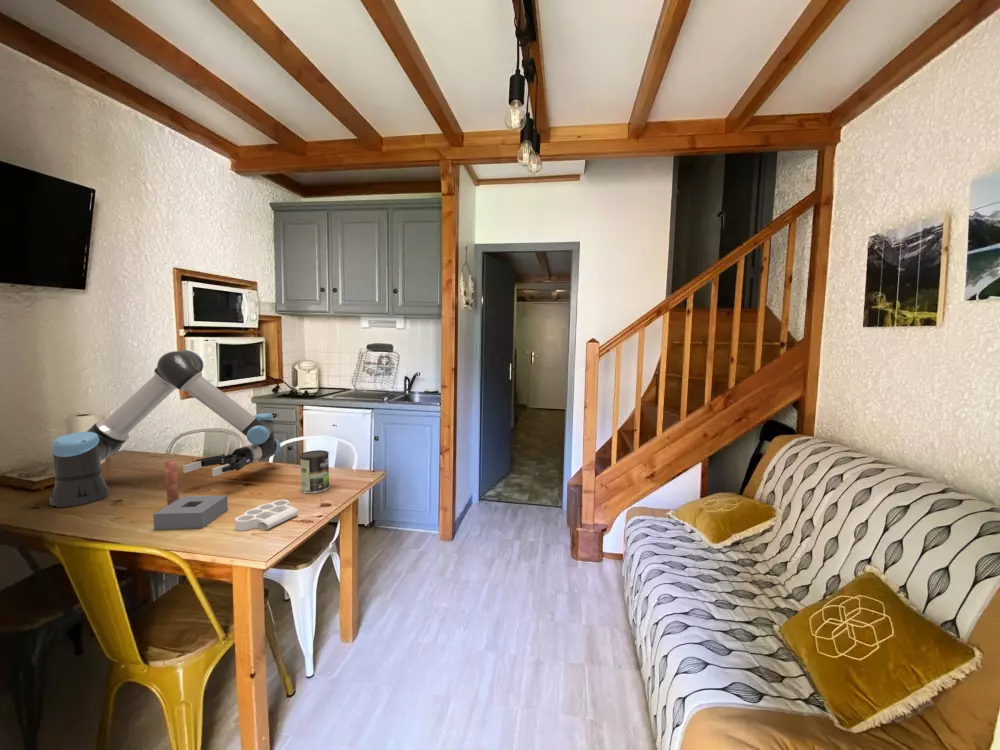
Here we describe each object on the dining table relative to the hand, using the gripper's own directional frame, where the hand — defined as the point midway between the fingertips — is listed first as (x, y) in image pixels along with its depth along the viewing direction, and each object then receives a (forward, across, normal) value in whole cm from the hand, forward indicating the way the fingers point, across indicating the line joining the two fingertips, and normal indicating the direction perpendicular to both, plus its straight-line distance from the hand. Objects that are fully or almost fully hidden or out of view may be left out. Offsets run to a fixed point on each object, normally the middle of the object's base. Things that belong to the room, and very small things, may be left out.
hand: (198, 471), depth 153 cm
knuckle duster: (+9, -39, -10) cm, 41 cm away
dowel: (+10, 0, -10) cm, 14 cm away
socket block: (+16, -16, -10) cm, 24 cm away
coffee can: (-18, -36, -10) cm, 41 cm away
